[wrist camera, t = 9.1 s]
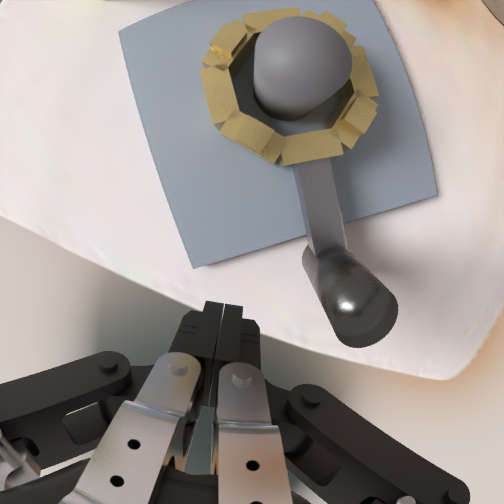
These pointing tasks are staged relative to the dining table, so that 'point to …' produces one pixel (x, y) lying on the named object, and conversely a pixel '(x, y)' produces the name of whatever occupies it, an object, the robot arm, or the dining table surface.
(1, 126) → the dining table surface
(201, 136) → the hub board
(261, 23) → the ring with upright handle
